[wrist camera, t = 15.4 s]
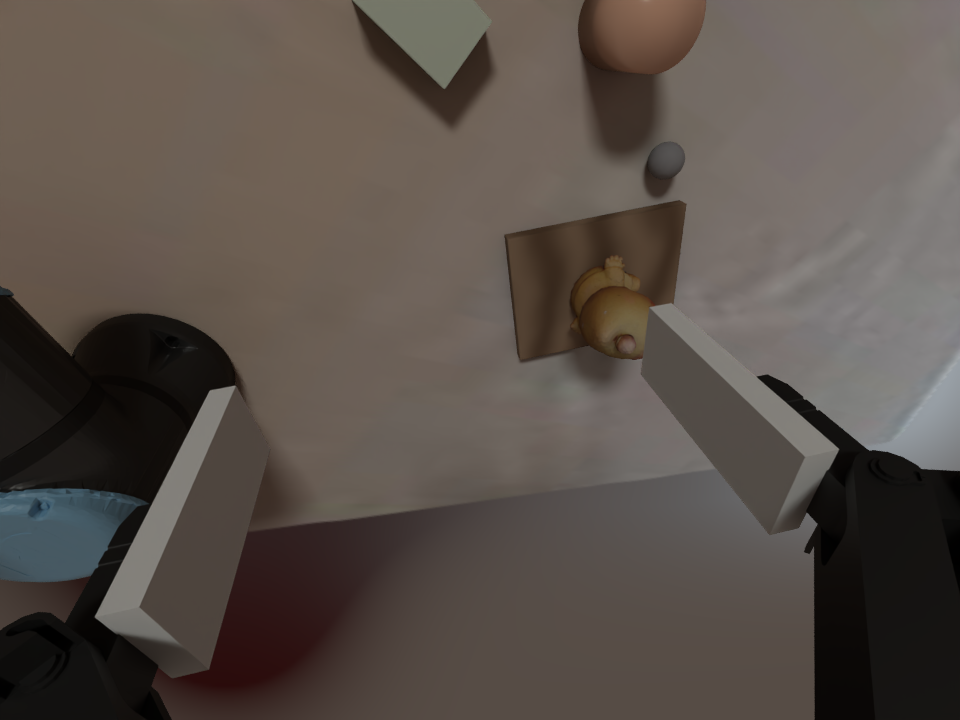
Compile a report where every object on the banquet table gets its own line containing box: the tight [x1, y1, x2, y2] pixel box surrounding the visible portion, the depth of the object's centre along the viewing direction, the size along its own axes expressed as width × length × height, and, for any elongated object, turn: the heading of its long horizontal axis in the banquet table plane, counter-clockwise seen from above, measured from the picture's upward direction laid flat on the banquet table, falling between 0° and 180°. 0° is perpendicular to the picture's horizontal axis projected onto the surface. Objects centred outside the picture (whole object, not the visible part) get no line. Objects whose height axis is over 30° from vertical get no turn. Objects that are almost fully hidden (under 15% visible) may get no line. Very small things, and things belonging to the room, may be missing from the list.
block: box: [352, 0, 492, 89], centre depth 36 cm, size 6×9×4 cm, turn 49°
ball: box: [648, 142, 685, 179], centre depth 46 cm, size 4×4×4 cm
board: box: [505, 200, 686, 360], centre depth 54 cm, size 20×16×2 cm
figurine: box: [570, 255, 656, 360], centre depth 48 cm, size 10×8×15 cm
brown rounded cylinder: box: [578, 0, 706, 74], centre depth 37 cm, size 7×7×8 cm
